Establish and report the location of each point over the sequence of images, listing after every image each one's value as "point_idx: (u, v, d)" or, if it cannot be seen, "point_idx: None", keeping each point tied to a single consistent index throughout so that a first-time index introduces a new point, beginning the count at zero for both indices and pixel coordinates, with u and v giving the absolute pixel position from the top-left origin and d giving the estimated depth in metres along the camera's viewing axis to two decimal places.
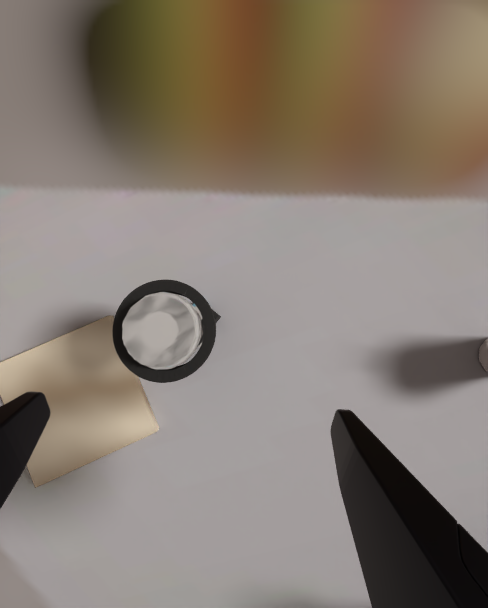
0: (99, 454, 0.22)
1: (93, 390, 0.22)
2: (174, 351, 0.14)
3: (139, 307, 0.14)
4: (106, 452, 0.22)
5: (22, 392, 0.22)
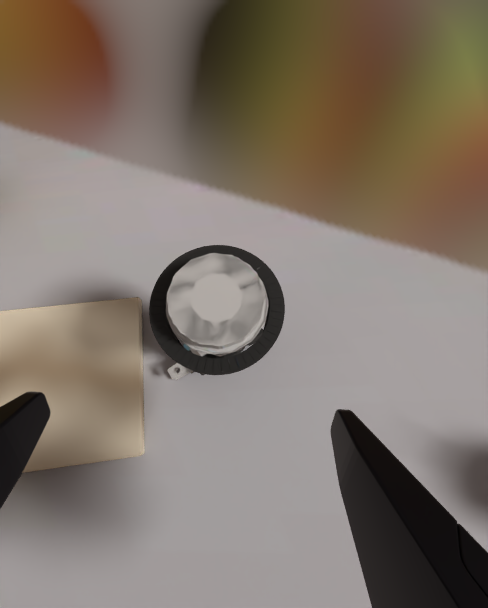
0: (59, 462, 0.16)
1: (86, 376, 0.18)
2: (228, 329, 0.10)
3: (201, 262, 0.11)
4: (68, 462, 0.16)
5: (6, 352, 0.18)
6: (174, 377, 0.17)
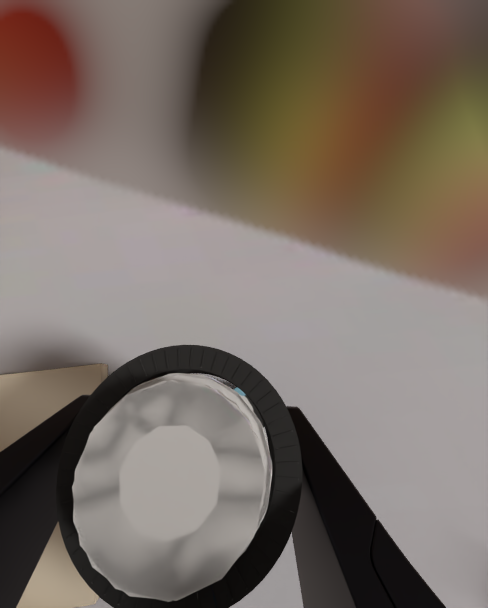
0: None
1: None
2: (189, 558, 0.05)
3: (145, 402, 0.06)
4: None
5: None
6: None
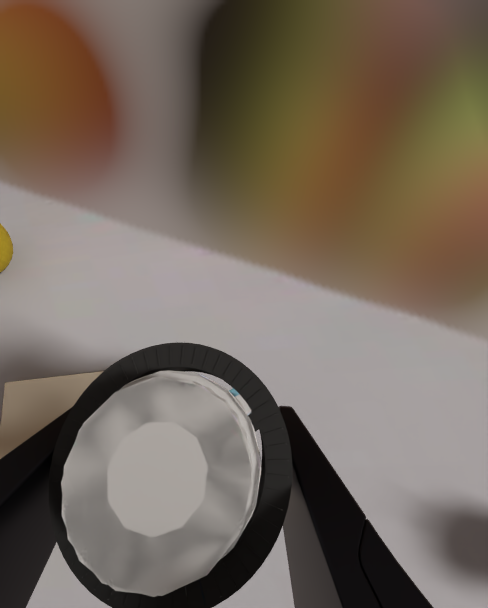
0: None
1: None
2: (175, 554, 0.05)
3: (134, 398, 0.06)
4: None
5: (24, 422, 0.20)
6: None
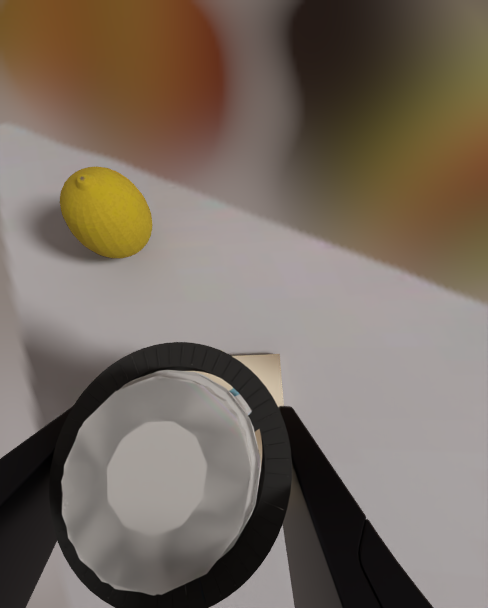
0: None
1: None
2: (174, 553, 0.05)
3: (134, 398, 0.06)
4: None
5: None
6: None
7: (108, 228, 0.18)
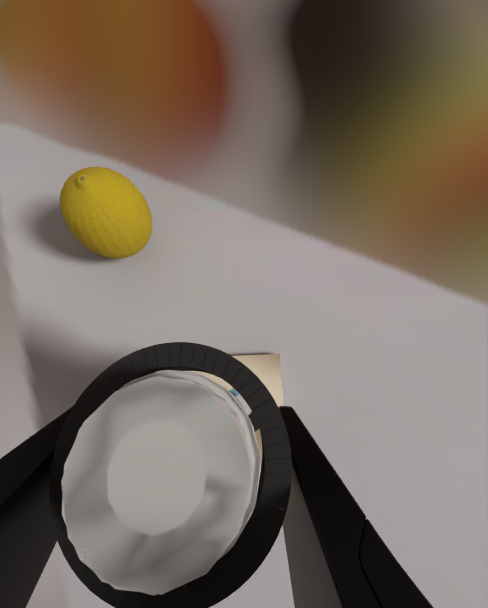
0: None
1: None
2: (174, 553, 0.05)
3: (134, 398, 0.06)
4: None
5: None
6: None
7: (108, 228, 0.18)
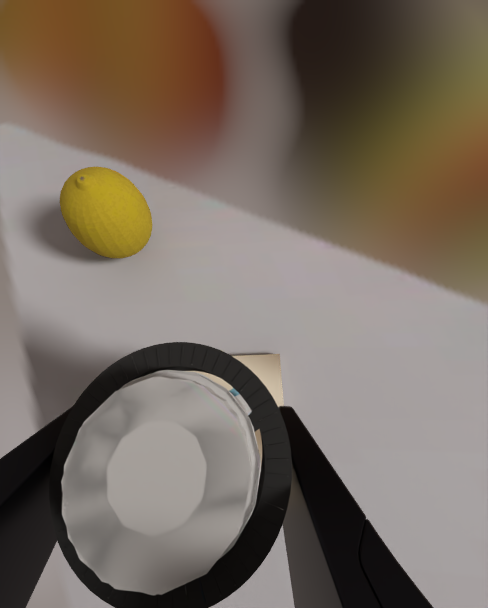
0: None
1: None
2: (174, 553, 0.05)
3: (134, 398, 0.06)
4: None
5: None
6: None
7: (108, 228, 0.18)
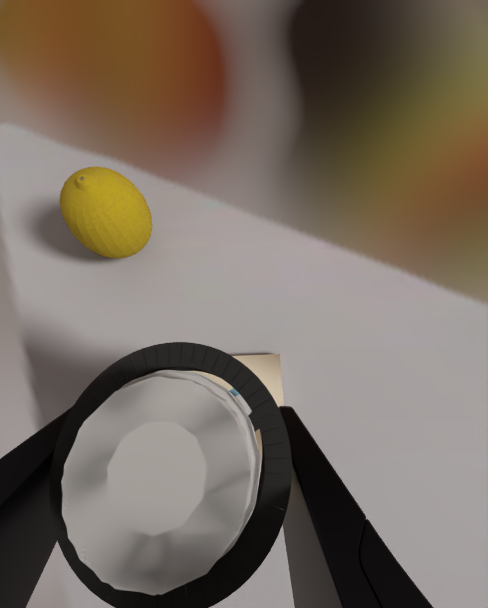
0: None
1: None
2: (174, 553, 0.05)
3: (134, 398, 0.06)
4: None
5: None
6: None
7: (108, 228, 0.18)
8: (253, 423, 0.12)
